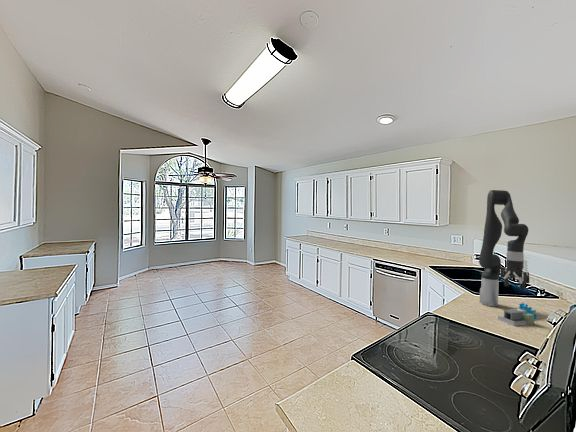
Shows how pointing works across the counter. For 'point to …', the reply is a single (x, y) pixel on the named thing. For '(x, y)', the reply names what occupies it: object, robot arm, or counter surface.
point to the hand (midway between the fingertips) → (513, 288)
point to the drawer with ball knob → (526, 319)
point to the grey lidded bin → (513, 315)
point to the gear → (528, 309)
